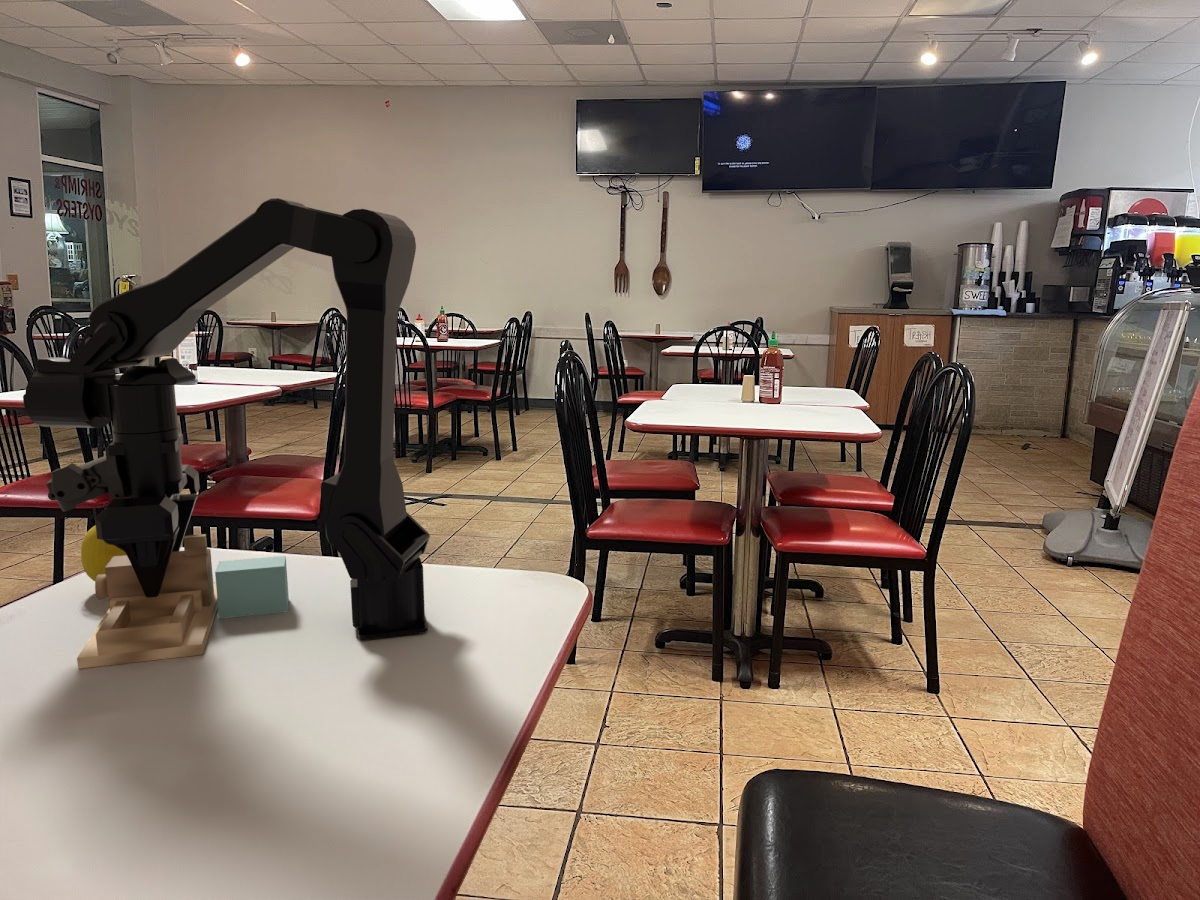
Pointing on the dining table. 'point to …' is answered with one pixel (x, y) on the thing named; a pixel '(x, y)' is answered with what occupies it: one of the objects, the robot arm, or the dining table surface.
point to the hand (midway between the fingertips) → (161, 580)
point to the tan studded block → (181, 574)
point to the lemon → (97, 554)
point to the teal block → (252, 586)
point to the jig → (150, 629)
